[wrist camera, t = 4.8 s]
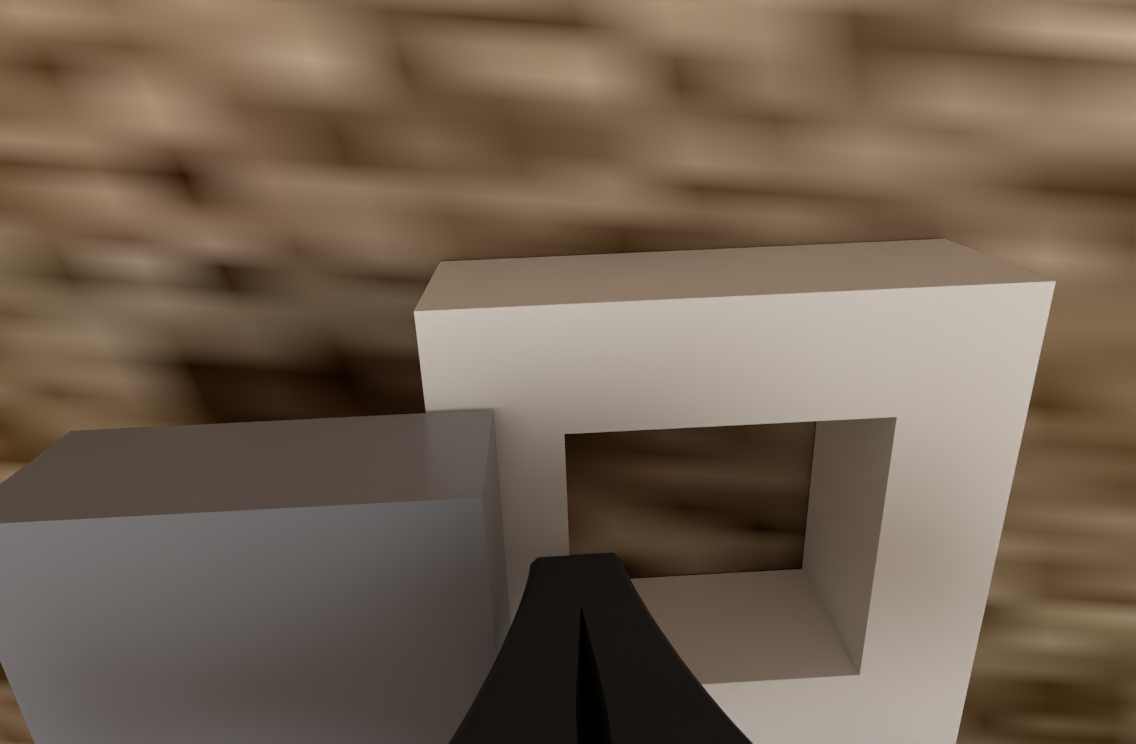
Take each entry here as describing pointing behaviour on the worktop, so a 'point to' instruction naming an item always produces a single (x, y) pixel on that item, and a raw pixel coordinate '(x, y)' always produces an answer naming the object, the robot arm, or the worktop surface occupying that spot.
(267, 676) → the grey square block
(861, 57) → the worktop surface
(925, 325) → the socket
